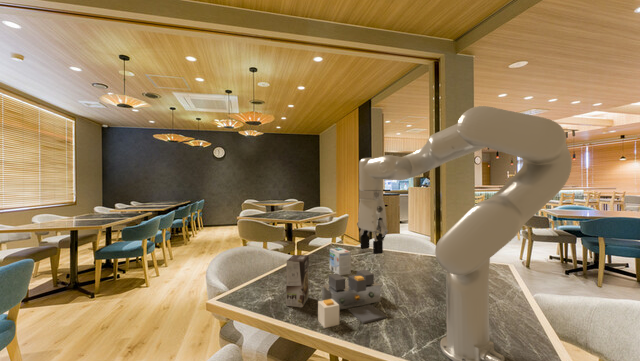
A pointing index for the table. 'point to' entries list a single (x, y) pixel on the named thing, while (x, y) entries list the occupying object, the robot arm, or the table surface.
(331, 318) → the cap
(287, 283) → the coffee box
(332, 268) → the light bulb box
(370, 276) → the toggle right
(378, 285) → the breaker console
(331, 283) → the toggle left
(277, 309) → the table surface
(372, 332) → the table surface
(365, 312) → the pad
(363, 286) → the toggle mid
